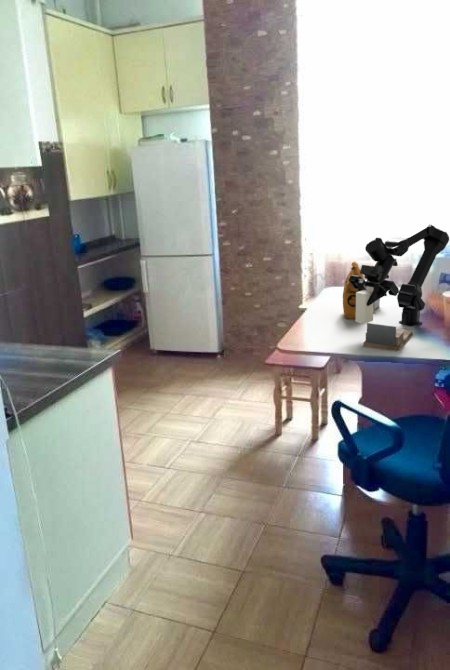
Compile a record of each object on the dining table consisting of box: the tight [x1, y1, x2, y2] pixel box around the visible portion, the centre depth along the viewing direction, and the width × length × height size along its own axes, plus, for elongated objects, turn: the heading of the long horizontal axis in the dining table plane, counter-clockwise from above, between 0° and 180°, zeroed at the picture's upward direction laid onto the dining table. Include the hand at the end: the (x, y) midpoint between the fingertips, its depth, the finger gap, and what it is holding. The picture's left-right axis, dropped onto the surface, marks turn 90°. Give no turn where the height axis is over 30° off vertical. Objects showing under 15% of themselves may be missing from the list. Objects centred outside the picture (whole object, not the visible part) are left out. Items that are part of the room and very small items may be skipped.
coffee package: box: [342, 261, 365, 320], centre depth 231 cm, size 10×12×22 cm
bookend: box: [366, 322, 397, 346], centre depth 192 cm, size 1×10×7 cm, turn 59°
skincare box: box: [364, 279, 381, 310], centre depth 244 cm, size 6×4×12 cm
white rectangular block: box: [354, 290, 374, 324], centre depth 200 cm, size 5×4×11 cm
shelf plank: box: [362, 328, 413, 352], centre depth 201 cm, size 20×12×4 cm, turn 148°
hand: (362, 304), depth 199 cm, fingers closed on white rectangular block, 4 cm apart
